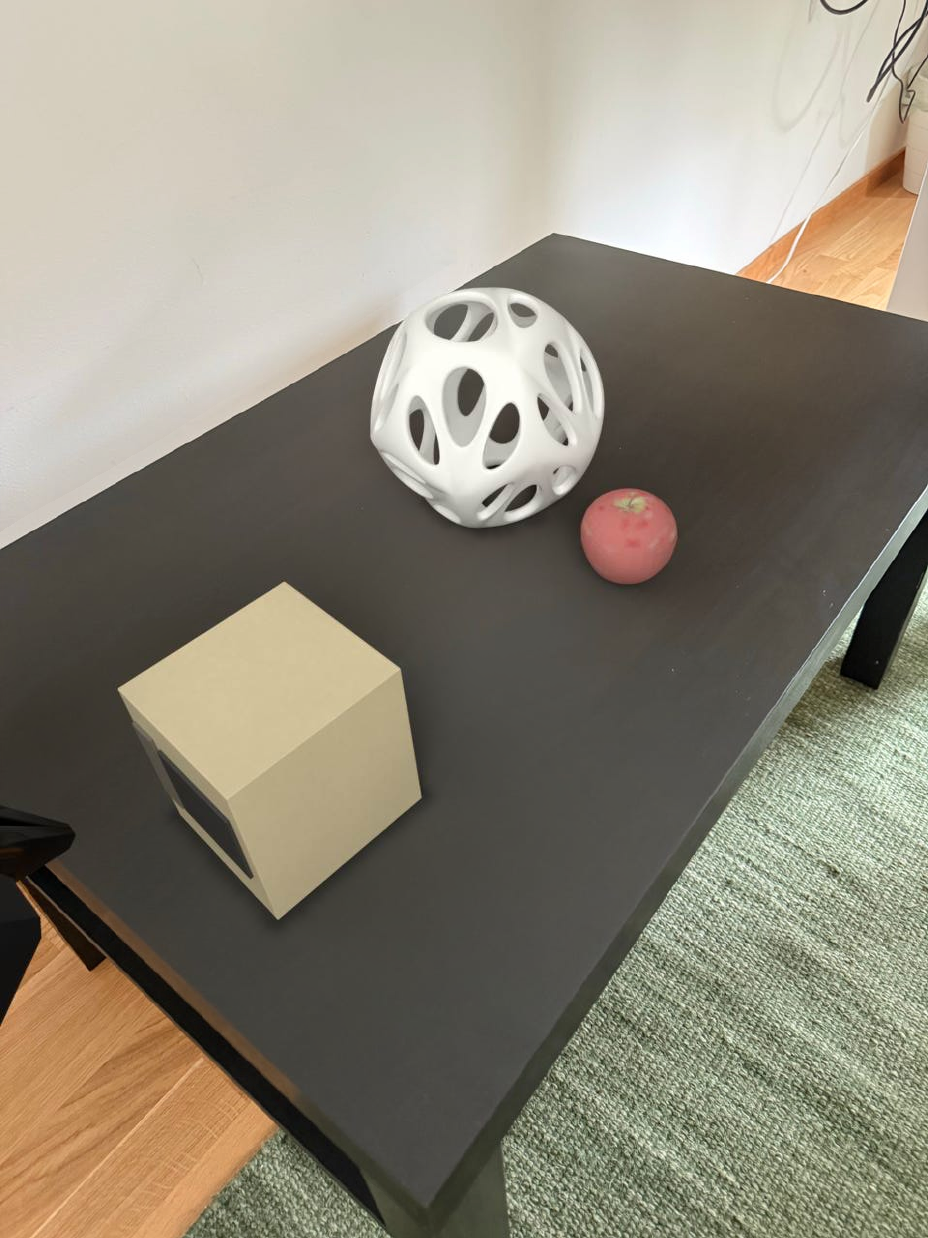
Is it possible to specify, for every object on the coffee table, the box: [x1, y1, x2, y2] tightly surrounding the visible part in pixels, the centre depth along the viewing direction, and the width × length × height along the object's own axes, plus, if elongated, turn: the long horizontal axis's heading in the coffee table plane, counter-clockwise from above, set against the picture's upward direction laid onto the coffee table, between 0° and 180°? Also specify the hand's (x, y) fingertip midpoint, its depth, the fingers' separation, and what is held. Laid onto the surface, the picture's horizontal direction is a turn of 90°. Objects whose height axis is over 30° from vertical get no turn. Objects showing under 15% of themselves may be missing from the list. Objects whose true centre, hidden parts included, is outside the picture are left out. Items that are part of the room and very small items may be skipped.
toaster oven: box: [117, 581, 422, 921], centre depth 57 cm, size 12×11×13 cm
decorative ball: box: [369, 286, 606, 529], centre depth 79 cm, size 20×20×17 cm
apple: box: [580, 487, 678, 585], centre depth 73 cm, size 7×7×8 cm
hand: (70, 837), depth 48 cm, fingers closed
